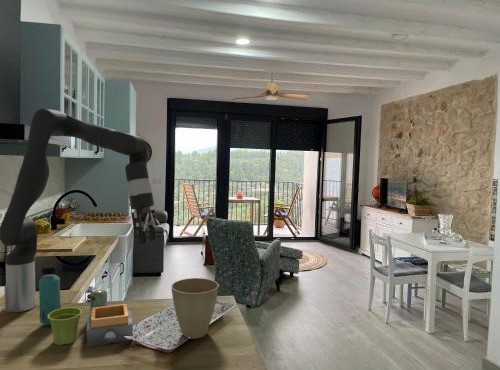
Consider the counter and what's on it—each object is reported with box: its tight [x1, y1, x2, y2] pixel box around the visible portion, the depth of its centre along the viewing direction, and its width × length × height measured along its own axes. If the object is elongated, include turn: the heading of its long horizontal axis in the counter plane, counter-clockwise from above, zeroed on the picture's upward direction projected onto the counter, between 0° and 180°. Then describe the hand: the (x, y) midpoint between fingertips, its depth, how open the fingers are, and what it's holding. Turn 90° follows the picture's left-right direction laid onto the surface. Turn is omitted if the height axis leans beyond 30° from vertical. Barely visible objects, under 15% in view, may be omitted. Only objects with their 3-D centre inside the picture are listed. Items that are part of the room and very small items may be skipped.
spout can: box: [86, 289, 108, 315], centre depth 133 cm, size 8×6×10 cm
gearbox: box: [86, 303, 134, 348], centre depth 121 cm, size 13×14×8 cm
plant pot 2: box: [170, 277, 220, 340], centre depth 123 cm, size 15×15×16 cm
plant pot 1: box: [48, 306, 83, 346], centre depth 117 cm, size 9×9×9 cm
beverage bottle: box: [38, 264, 62, 325], centre depth 128 cm, size 6×7×20 cm
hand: (148, 241), depth 127 cm, fingers open, 8 cm apart
